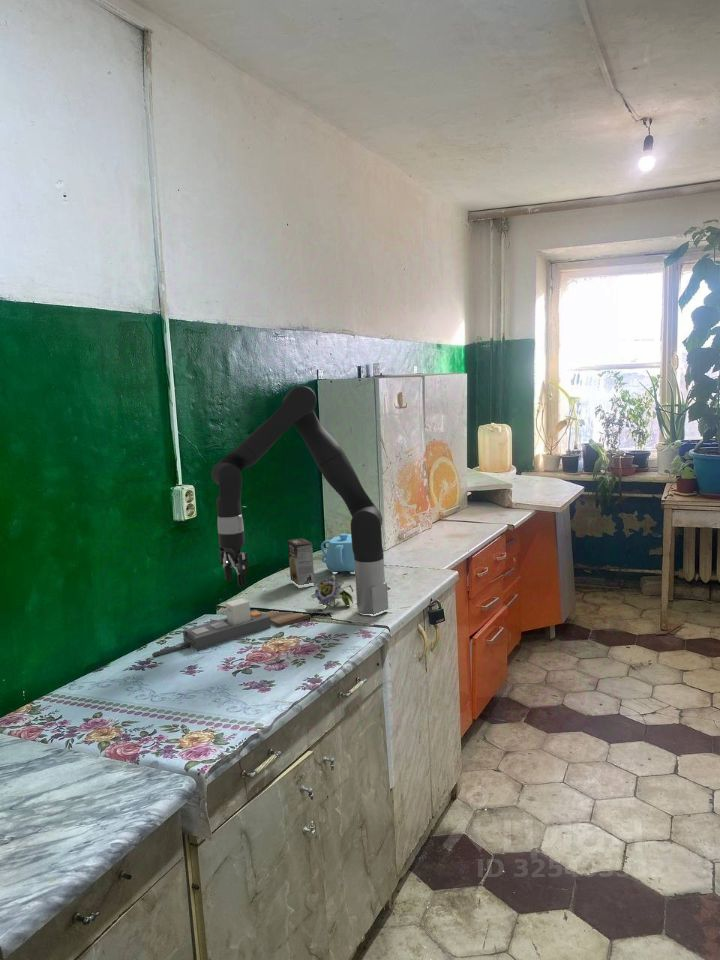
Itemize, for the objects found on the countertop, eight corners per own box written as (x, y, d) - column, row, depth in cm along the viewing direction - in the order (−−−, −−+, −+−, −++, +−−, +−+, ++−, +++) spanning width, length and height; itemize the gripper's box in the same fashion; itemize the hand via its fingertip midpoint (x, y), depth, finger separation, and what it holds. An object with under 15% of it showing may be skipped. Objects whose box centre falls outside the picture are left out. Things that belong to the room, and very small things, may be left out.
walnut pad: (312, 616, 214) (312, 613, 214) (279, 627, 207) (278, 623, 207) (292, 607, 224) (292, 604, 224) (259, 617, 217) (259, 614, 217)
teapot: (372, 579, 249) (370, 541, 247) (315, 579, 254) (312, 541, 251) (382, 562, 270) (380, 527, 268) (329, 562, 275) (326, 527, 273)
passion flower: (327, 624, 222) (303, 596, 221) (340, 607, 231) (318, 580, 231) (350, 609, 216) (326, 580, 216) (363, 592, 225) (340, 564, 225)
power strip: (270, 627, 207) (269, 614, 207) (158, 662, 187) (156, 647, 186) (256, 620, 214) (255, 607, 214) (146, 652, 194) (145, 638, 193)
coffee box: (290, 582, 251) (286, 540, 249) (306, 579, 254) (303, 537, 251) (298, 589, 243) (295, 545, 240) (315, 586, 245) (312, 542, 243)
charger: (251, 624, 206) (249, 601, 204) (225, 631, 201) (223, 608, 200) (244, 620, 209) (242, 598, 208) (219, 627, 204) (217, 605, 203)
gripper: (253, 531, 198) (258, 585, 201) (231, 524, 209) (236, 575, 212) (230, 536, 194) (234, 591, 196) (208, 528, 205) (213, 580, 208)
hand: (235, 583), depth 204 cm, fingers open, 8 cm apart
